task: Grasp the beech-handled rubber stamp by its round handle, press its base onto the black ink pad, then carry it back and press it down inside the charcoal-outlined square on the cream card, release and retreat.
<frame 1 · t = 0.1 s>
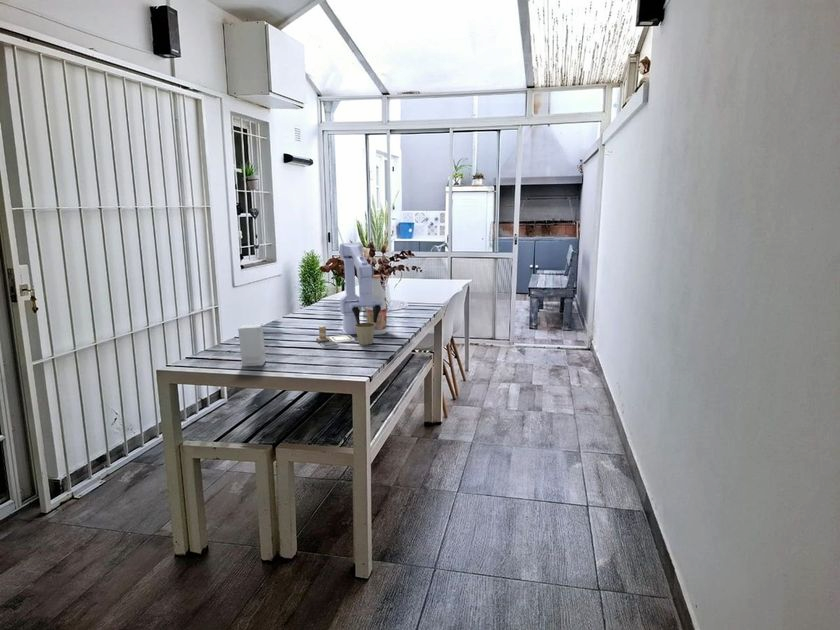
hand: (366, 323, 249), 10 cm above the table, fingers open, 7 cm apart
skincare box: (253, 364, 224), on the table
print card: (342, 339, 262), on the table
flower pot: (365, 343, 255), on the table
fruit juice: (377, 333, 275), on the table
stamp: (323, 341, 259), on the table
ink pad: (329, 345, 251), on the table
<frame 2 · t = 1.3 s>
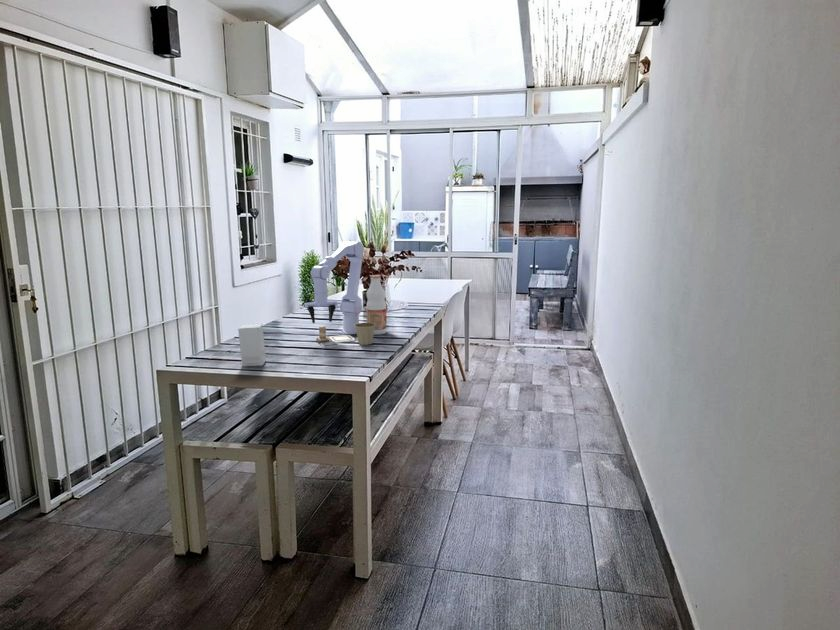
hand: (322, 322, 257), 9 cm above the table, fingers open, 7 cm apart
nothing on the table moved.
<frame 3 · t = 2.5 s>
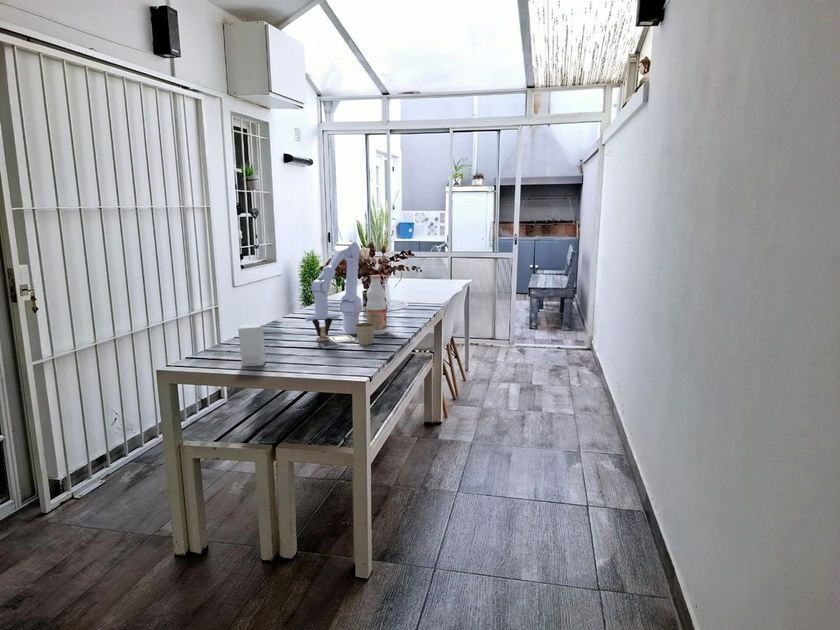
hand: (322, 335, 258), 3 cm above the table, fingers closed on stamp, 3 cm apart
stamp: (322, 341, 259), on the table, touching gripper
everything else where it was.
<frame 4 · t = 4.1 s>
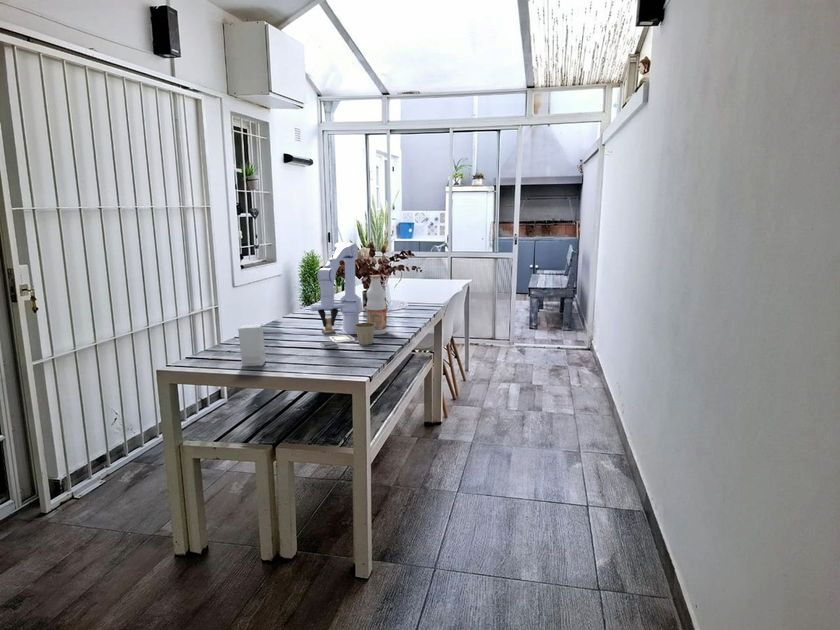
hand: (328, 326, 249), 9 cm above the table, fingers closed on stamp, 3 cm apart
stamp: (328, 333, 250), point 6 cm above the table, touching gripper
everything else where it was.
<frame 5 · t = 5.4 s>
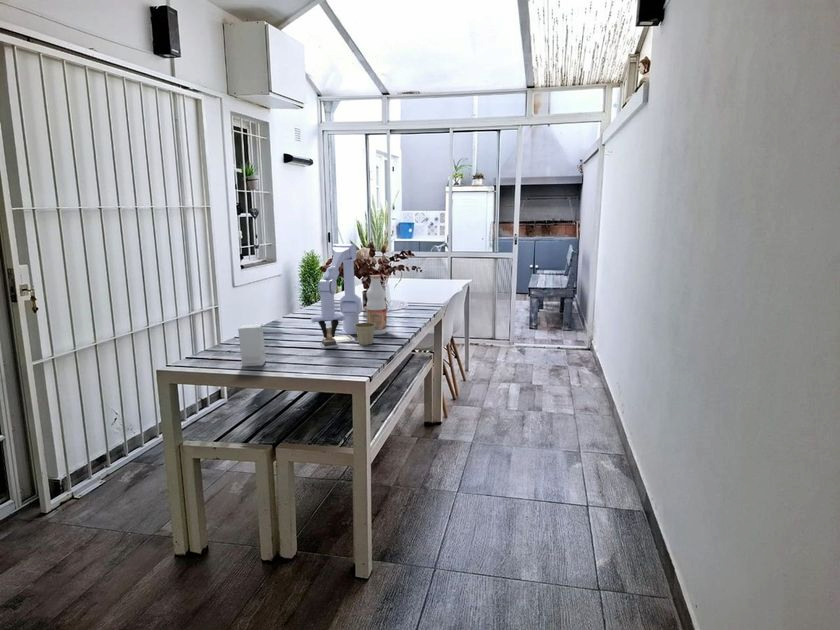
hand: (329, 337, 250), 4 cm above the table, fingers closed on stamp, 3 cm apart
stamp: (329, 343, 251), point 1 cm above the table, touching gripper, ink pad
everything else where it was.
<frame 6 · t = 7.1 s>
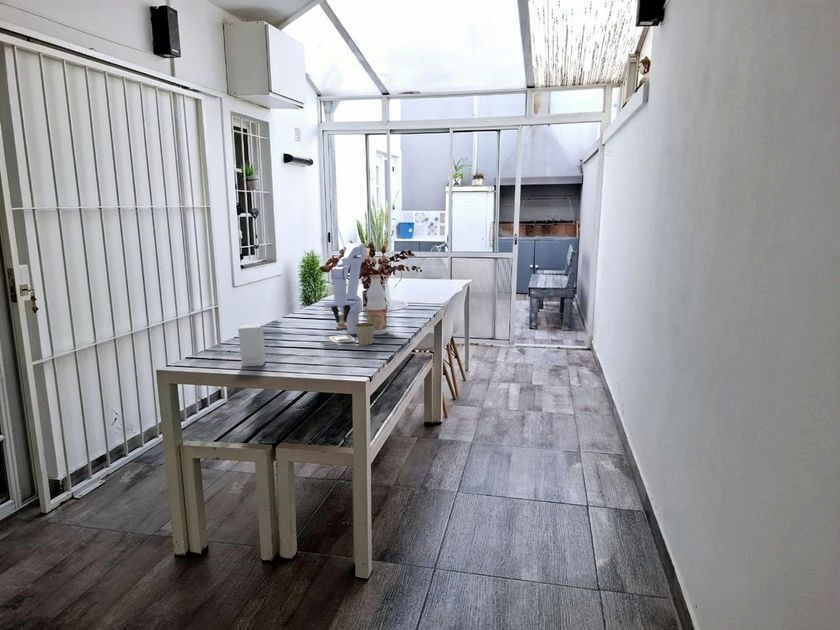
hand: (341, 322, 261), 8 cm above the table, fingers closed on stamp, 3 cm apart
stamp: (341, 329, 261), point 5 cm above the table, touching gripper
everything else where it was.
when the fingers open (4 cm above the table, at t = 8.2 s): stamp stays where it is, resting on print card.
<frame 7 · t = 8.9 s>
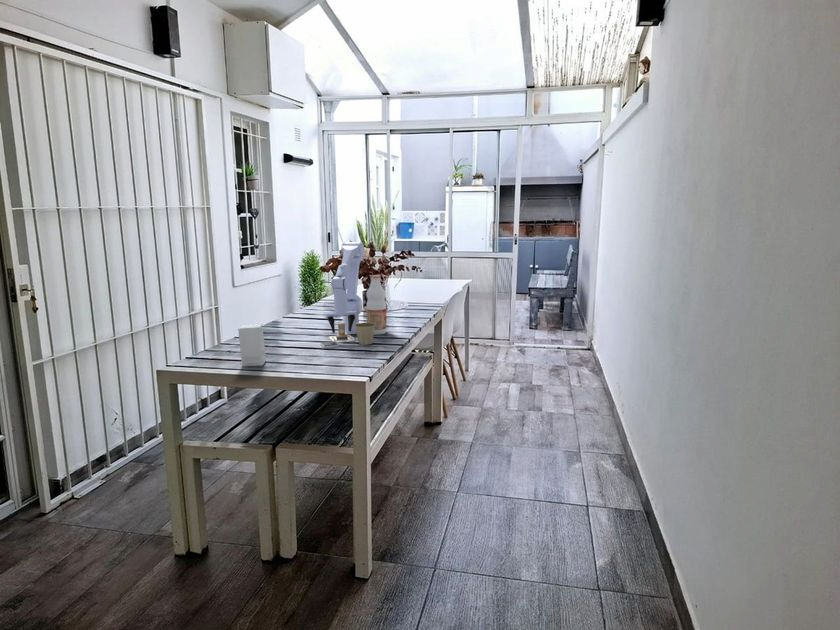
hand: (341, 331, 261), 4 cm above the table, fingers open, 7 cm apart
stamp: (341, 338, 262), point 1 cm above the table, touching print card
everything else where it was.
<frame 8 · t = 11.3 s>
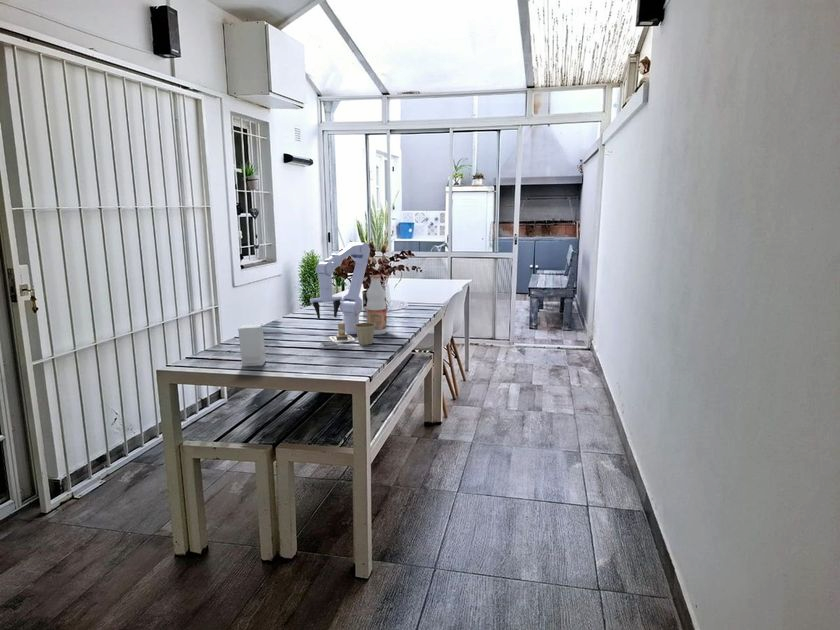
hand: (327, 317, 260), 10 cm above the table, fingers open, 7 cm apart
nothing on the table moved.
at the end: stamp 0.1 cm off-centre on the print card, point 0.6 cm above the print card's base; stamp tilted 0°; the gripper is holding nothing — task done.
